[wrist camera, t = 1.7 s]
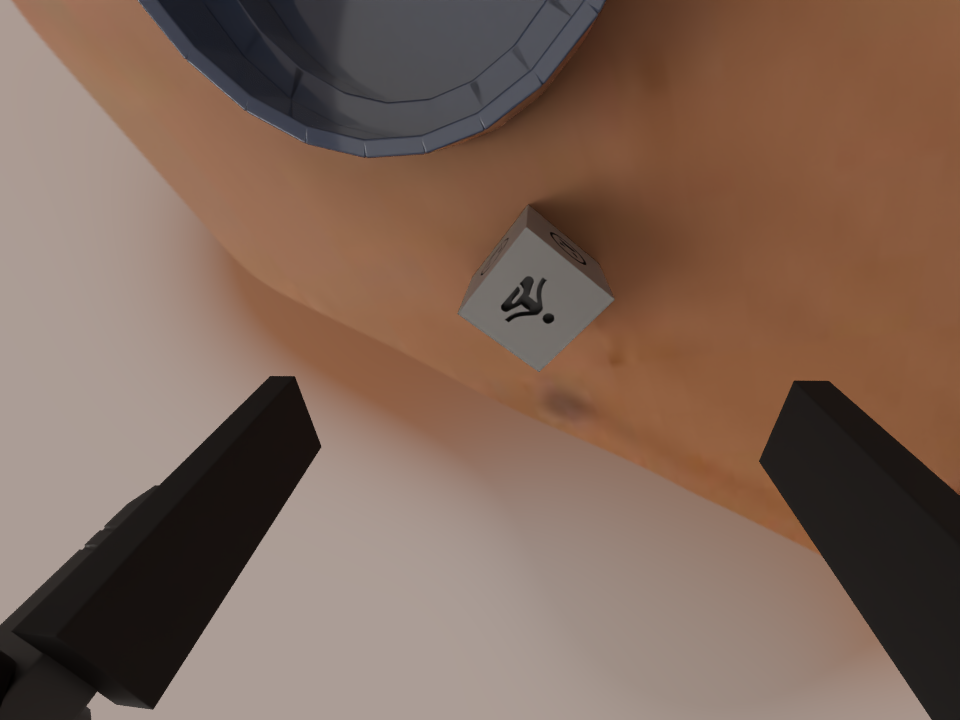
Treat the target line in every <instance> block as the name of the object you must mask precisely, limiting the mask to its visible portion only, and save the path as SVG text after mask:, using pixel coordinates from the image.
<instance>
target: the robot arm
mask: <svg viewBox="0 0 960 720" xmlns="http://www.w3.org/2000/svg"><path fill="white" fill-rule="evenodd" d="M320 448H321V444H320V441H319V439H318V436H317V434H316V431H315V429H314V426H313V423H312V421H311V418H310V415H309V413H308V410H307V407H306V405H305V402H304V400H303V397H302V394H301V392H300V389H299V386H298V384H297V381H296V378H295V377H294V376H270V377H269V378H268V379H267V380H266V381H265V382H264V383H263V384H262V385H261V386H260V387H259V388H258V389H257V390H256V391H255V392H254V393H253V394H252V395H251V396H250V397H249V398H248V399H247V400H246V401H245V402H244V403H243V404H242V405H241V406H239V407H238V408H237V410H235V411H234V412H233V414H231V415H230V416H229V417H228V419H226V420H225V421H224V422H223V423H222V424H221V425H220V426H219V427H218V428H217V429H216V430H215V431H214V432H213V433H212V434H211V435H210V436H209V437H208V438H207V439H206V440H205V441H204V442H203V443H202V444H201V445H200V446H199V447H198V448H197V449H196V450H195V451H194V452H193V453H192V454H191V455H190V456H189V457H188V458H187V459H186V460H185V461H184V462H183V463H182V464H181V465H180V466H179V467H178V468H177V469H176V470H175V471H173V472H172V473H171V475H170V476H168V477H167V478H166V479H165V480H164V481H163V482H162V483H161V484H160V485H159V486H154V487H152V488H151V489H149V490H148V491H146V492H145V493H143V494H142V495H140V496H139V497H137V498H136V499H134V500H133V501H131V502H130V503H128V504H127V505H126V506H125V507H124V508H123V509H122V510H121V511H120V512H119V513H118V514H116V515H115V516H114V517H113V518H112V519H111V520H110V521H109V522H108V523H107V524H106V525H105V528H104V530H102V531H101V530H100V531H99V532H98V533H96V534H95V535H94V536H93V537H92V538H91V539H90V540H89V541H88V542H87V543H86V544H85V548H84V549H83V550H79V551H78V552H77V553H75V555H73V556H72V557H71V558H70V559H69V560H68V561H67V562H66V563H65V564H64V565H63V566H62V567H61V568H60V569H59V570H58V571H57V572H56V573H54V574H53V575H52V576H51V578H49V579H48V580H47V581H46V582H45V583H44V584H43V585H42V586H41V587H40V588H39V589H38V590H37V591H36V592H35V593H34V594H32V596H31V597H29V598H28V599H27V600H26V601H25V602H24V603H23V604H22V605H21V606H20V607H19V608H18V609H17V610H16V611H15V612H14V613H13V614H12V615H10V616H9V617H8V618H7V619H6V620H5V621H4V622H3V623H2V624H1V625H0V720H91V712H90V709H89V708H88V707H86V706H87V704H88V703H89V702H90V700H91V699H92V698H93V696H94V695H95V693H96V692H97V691H98V692H99V693H100V694H102V695H103V696H105V697H106V698H108V699H109V700H110V701H112V702H113V703H115V704H117V705H123V706H131V707H138V708H146V709H154V707H155V706H156V704H157V703H158V701H159V700H160V698H161V697H162V695H163V693H164V692H165V690H166V689H167V687H168V686H169V684H170V682H171V681H172V679H173V678H174V676H175V674H176V673H177V671H178V670H179V668H180V667H181V665H182V664H183V662H184V661H185V659H186V657H187V656H188V654H189V653H190V651H191V650H192V648H193V647H194V645H195V643H196V642H197V640H198V639H199V637H200V635H201V634H202V633H203V631H204V629H205V628H206V626H207V625H208V623H209V622H210V620H211V618H212V617H213V615H214V614H215V612H216V611H217V609H218V608H219V606H220V604H221V603H222V601H223V600H224V598H225V596H226V595H227V593H228V592H229V590H230V589H231V587H232V586H233V584H234V583H235V581H236V579H237V578H238V576H239V575H240V573H241V572H242V570H243V568H244V567H245V565H246V564H247V562H248V561H249V559H250V558H251V556H252V554H253V553H254V551H255V550H256V548H257V546H258V545H259V543H260V542H261V540H262V539H263V537H264V536H265V534H266V532H267V531H268V529H269V528H270V526H271V525H272V523H273V522H274V520H275V518H276V517H277V515H278V514H279V512H280V511H281V509H282V507H283V506H284V504H285V503H286V501H287V500H288V498H289V497H290V495H291V493H292V492H293V490H294V489H295V487H296V485H297V484H298V482H299V481H300V479H301V478H302V476H303V475H304V473H305V472H306V470H307V468H308V467H309V465H310V464H311V462H312V461H313V459H314V458H315V456H316V454H317V453H318V451H319V450H320ZM759 462H760V463H761V465H762V466H763V468H764V469H765V471H766V472H767V474H768V475H769V477H770V478H771V480H772V481H773V483H774V484H775V486H776V487H777V489H778V490H779V492H780V493H781V495H782V496H783V498H784V499H785V501H786V502H787V504H788V505H789V507H790V508H791V510H792V511H793V513H794V514H795V516H796V517H797V519H798V520H799V522H800V523H801V525H802V526H803V528H804V529H805V531H806V532H807V534H808V535H809V537H810V538H811V540H812V541H813V543H814V544H815V546H816V547H817V549H818V550H819V552H820V553H821V555H822V556H823V558H824V559H825V561H826V562H827V564H828V565H829V567H830V568H831V570H832V571H833V573H834V574H835V576H836V577H837V579H838V580H839V582H840V583H841V585H842V586H843V588H844V589H845V590H846V592H847V594H848V595H849V597H850V598H851V600H852V601H853V603H854V604H855V606H856V607H857V608H858V610H859V611H860V613H861V614H862V616H863V618H864V619H865V621H866V622H867V624H868V625H869V627H870V628H871V629H872V631H873V632H874V634H875V635H876V637H877V639H878V640H879V642H880V643H881V644H882V646H883V648H884V649H885V651H886V652H887V653H888V655H889V656H890V658H891V659H892V661H893V662H894V664H895V665H896V667H897V668H898V670H899V671H900V673H901V674H902V676H903V677H904V679H905V680H906V682H907V683H908V685H909V686H910V688H911V689H912V691H913V692H914V694H915V695H916V697H917V698H918V700H919V701H920V703H921V704H922V706H923V707H924V709H925V710H926V712H927V713H928V715H929V716H930V718H931V719H932V720H960V496H959V495H958V494H957V493H956V492H955V491H954V490H953V489H951V488H950V487H949V486H948V485H947V484H946V483H945V482H943V481H942V480H941V479H940V478H939V477H938V476H937V475H935V474H934V473H933V472H932V471H931V470H930V469H929V468H928V467H926V466H925V465H924V464H923V463H922V462H921V461H920V460H918V459H917V458H916V457H915V456H914V455H913V454H912V453H910V452H909V451H908V450H907V449H906V448H905V447H904V446H902V445H901V444H900V443H899V442H898V441H897V440H896V439H894V438H893V437H892V436H891V435H890V434H889V433H888V432H886V431H885V430H884V429H883V428H882V427H881V426H880V425H878V424H877V423H876V422H875V421H874V420H873V419H872V418H870V417H869V416H868V415H867V414H866V413H865V412H864V411H862V410H861V409H860V408H859V407H858V406H857V405H856V404H854V403H853V402H852V401H851V400H850V399H849V398H848V397H847V396H845V395H844V394H843V393H842V392H841V391H840V390H839V389H837V388H836V387H835V386H834V385H833V384H832V383H831V382H829V381H794V382H793V384H792V387H791V389H790V391H789V394H788V396H787V398H786V400H785V403H784V405H783V407H782V410H781V412H780V414H779V417H778V419H777V421H776V423H775V426H774V428H773V430H772V433H771V435H770V437H769V440H768V442H767V444H766V446H765V449H764V451H763V453H762V456H761V458H760V460H759Z"/></svg>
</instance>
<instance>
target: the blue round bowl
mask: <svg viewBox="0 0 960 720" xmlns="http://www.w3.org/2000/svg"><path fill="white" fill-rule="evenodd" d="M606 1H607V0H138V2H139V3H140V4H141V5H142V6H143V8H144V9H145V10H146V11H147V13H148V14H149V15H150V16H151V18H152V19H153V20H154V21H155V22H156V24H157V25H158V26H159V27H160V29H161V30H162V31H163V32H164V34H165V35H166V36H167V37H168V39H169V40H170V41H171V42H172V43H173V45H174V46H175V47H176V48H177V50H178V51H179V52H180V53H181V55H182V56H183V57H184V58H185V59H186V60H187V61H188V62H189V63H190V64H191V65H193V66H194V67H195V68H196V69H197V70H198V71H200V72H201V73H202V74H203V75H204V76H205V77H207V78H208V79H209V80H210V81H211V82H212V83H213V84H215V85H216V86H217V87H218V88H219V89H220V90H222V91H223V92H224V93H225V94H226V95H227V96H229V97H230V98H231V99H232V100H233V101H234V102H236V103H237V104H238V105H239V106H240V107H241V108H243V109H244V110H245V111H247V112H248V113H249V114H251V115H253V116H255V117H257V118H259V119H261V120H263V121H264V122H266V123H268V124H270V125H272V126H274V127H276V128H277V129H279V130H281V131H283V132H285V133H287V134H289V135H290V136H292V137H294V138H296V139H298V140H300V141H302V142H304V143H307V144H308V145H312V146H317V147H321V148H325V149H329V150H334V151H338V152H342V153H346V154H351V155H355V156H359V157H364V158H365V157H367V158H376V157H391V156H406V155H421V154H427V153H431V152H434V151H438V150H441V149H445V148H448V147H451V146H455V145H457V144H460V143H462V142H465V141H467V140H470V139H473V138H475V137H478V136H480V135H483V134H485V133H488V132H490V131H493V130H496V129H497V128H499V127H501V126H502V125H503V124H505V123H506V122H507V121H508V120H510V119H511V118H512V117H514V116H515V115H516V114H518V113H519V112H520V111H521V110H523V109H524V108H525V107H527V106H528V105H529V104H531V103H532V102H533V101H535V100H536V99H537V98H538V97H540V96H541V94H542V93H544V91H545V90H546V89H547V88H548V86H549V85H550V84H551V82H552V81H553V80H554V79H555V77H556V76H557V75H558V74H559V72H560V71H561V70H562V69H563V67H564V66H565V65H566V64H567V62H568V61H569V60H570V59H571V57H572V56H573V55H574V54H575V52H576V51H577V50H578V49H579V47H580V46H581V44H582V43H583V41H584V39H585V38H586V36H587V34H588V33H589V31H590V29H591V28H592V26H593V24H594V23H595V21H596V19H597V18H598V16H599V14H600V13H601V11H602V9H603V7H604V5H605V3H606Z"/></svg>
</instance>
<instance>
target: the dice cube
mask: <svg viewBox="0 0 960 720" xmlns="http://www.w3.org/2000/svg"><path fill="white" fill-rule="evenodd" d="M614 300H615V299H614V296H613V294H612V292H611V290H610V287H609V285H608V283H607V281H606V279H605V276H604V274H603V272H602V270H601V267H600V265H599V263H597V262H596V261H595V260H594V259H593V258H591V257H590V256H589V255H588V254H587V253H585V252H584V251H583V250H582V249H581V248H579V247H578V246H577V245H576V244H575V243H574V242H572V241H571V240H570V239H569V238H568V237H566V236H565V235H564V234H563V233H562V232H560V231H559V230H558V229H557V228H556V227H554V226H553V225H552V224H551V223H550V222H548V221H547V220H546V219H545V218H544V217H542V216H541V215H540V214H539V213H538V212H537V211H535V210H534V209H533V208H532V207H531V206H529V205H527V207H526V208H525V209H524V211H523V212H522V213H521V214H520V216H519V217H518V218H517V220H516V221H515V222H514V224H513V225H512V226H511V227H510V229H509V230H508V231H507V233H506V234H505V235H504V237H503V238H502V239H501V241H500V242H499V243H498V244H497V246H496V247H495V248H494V250H493V251H492V252H491V254H490V255H489V256H488V257H487V259H486V260H485V261H484V263H483V264H482V265H481V267H480V268H479V269H478V270H477V272H476V273H475V274H474V276H473V277H472V279H471V281H470V284H469V286H468V289H467V291H466V294H465V296H464V299H463V301H462V304H461V306H460V309H459V311H458V314H459V315H460V316H461V317H463V318H464V319H466V320H467V321H468V322H470V323H471V324H473V325H474V326H475V327H477V328H478V329H480V330H481V331H482V332H484V333H485V334H487V335H488V336H489V337H491V338H492V339H493V340H495V341H496V342H498V343H499V344H500V345H502V346H503V347H505V348H506V349H507V350H509V351H510V352H512V353H513V354H514V355H516V356H517V357H519V358H520V359H521V360H523V361H524V362H526V363H527V364H528V365H530V366H531V367H533V368H534V369H535V370H537V371H538V372H540V371H541V370H542V369H543V368H544V367H545V366H546V365H547V364H548V363H549V362H550V361H551V360H552V359H553V358H554V357H555V356H556V355H557V354H558V353H559V352H560V351H562V350H563V349H564V348H565V347H566V346H567V345H568V344H569V343H570V342H571V341H572V340H573V339H574V338H575V337H576V336H577V335H578V334H579V333H580V332H581V331H582V330H583V329H585V328H586V327H587V326H588V325H589V324H590V323H591V322H592V321H593V320H594V319H595V318H596V317H597V316H598V315H599V314H600V313H601V312H602V311H603V310H604V309H605V308H606V307H608V306H609V305H610V304H611V303H612V302H613V301H614Z"/></svg>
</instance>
